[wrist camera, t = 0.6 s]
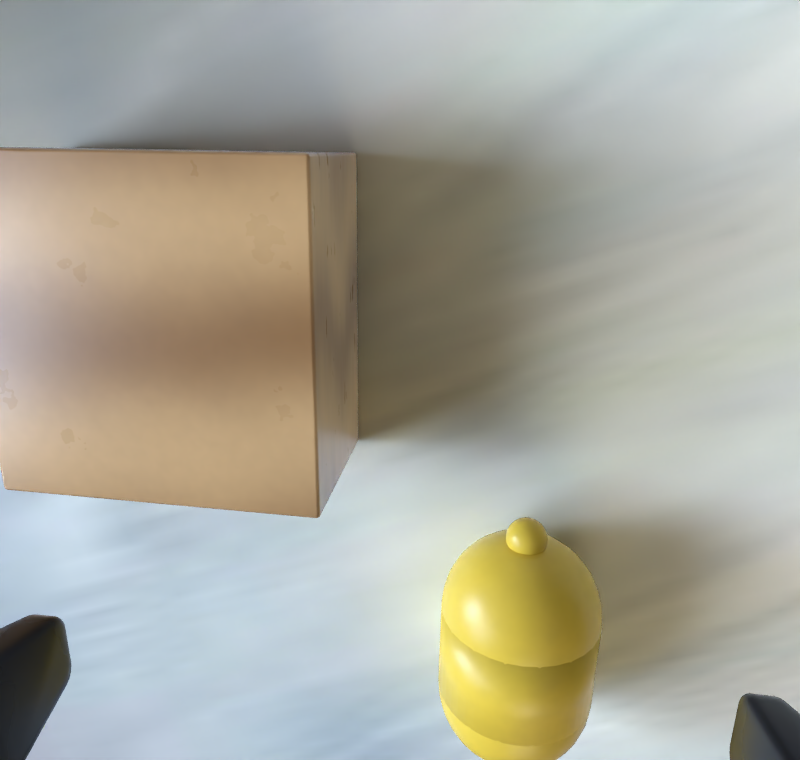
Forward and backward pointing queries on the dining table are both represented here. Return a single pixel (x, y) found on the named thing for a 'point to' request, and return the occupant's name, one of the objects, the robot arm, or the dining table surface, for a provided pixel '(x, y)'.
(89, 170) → the maple block
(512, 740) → the lemon
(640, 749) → the dining table surface
